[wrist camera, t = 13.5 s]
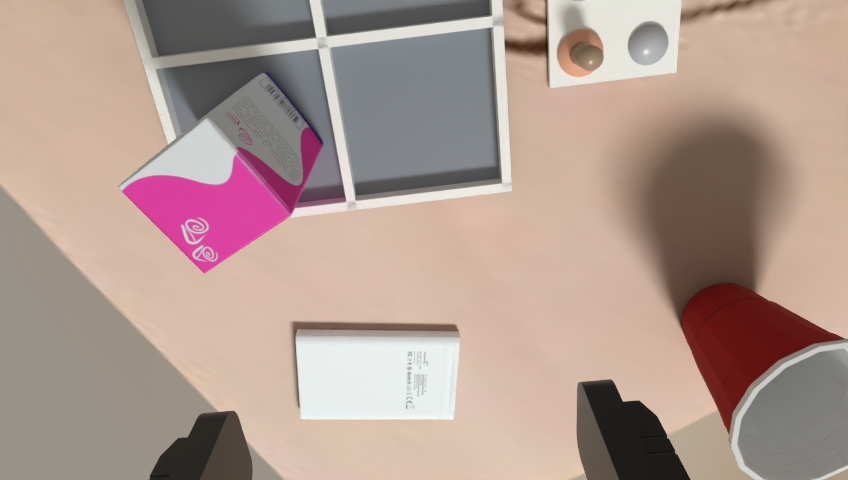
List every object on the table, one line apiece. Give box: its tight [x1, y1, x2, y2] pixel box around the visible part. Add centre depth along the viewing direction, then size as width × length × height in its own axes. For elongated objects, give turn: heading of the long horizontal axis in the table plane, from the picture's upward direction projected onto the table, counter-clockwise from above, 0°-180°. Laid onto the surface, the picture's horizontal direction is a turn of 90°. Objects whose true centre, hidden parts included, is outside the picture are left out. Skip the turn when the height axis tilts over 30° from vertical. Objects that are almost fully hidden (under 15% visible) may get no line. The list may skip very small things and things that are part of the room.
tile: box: [547, 0, 681, 88], centre depth 34 cm, size 8×8×3 cm
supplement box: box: [119, 71, 323, 273], centre depth 31 cm, size 6×6×12 cm
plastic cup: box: [681, 283, 848, 480], centre depth 39 cm, size 11×11×12 cm
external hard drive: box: [296, 329, 460, 419], centre depth 46 cm, size 2×8×12 cm
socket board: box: [123, 0, 512, 218], centre depth 34 cm, size 21×21×2 cm
